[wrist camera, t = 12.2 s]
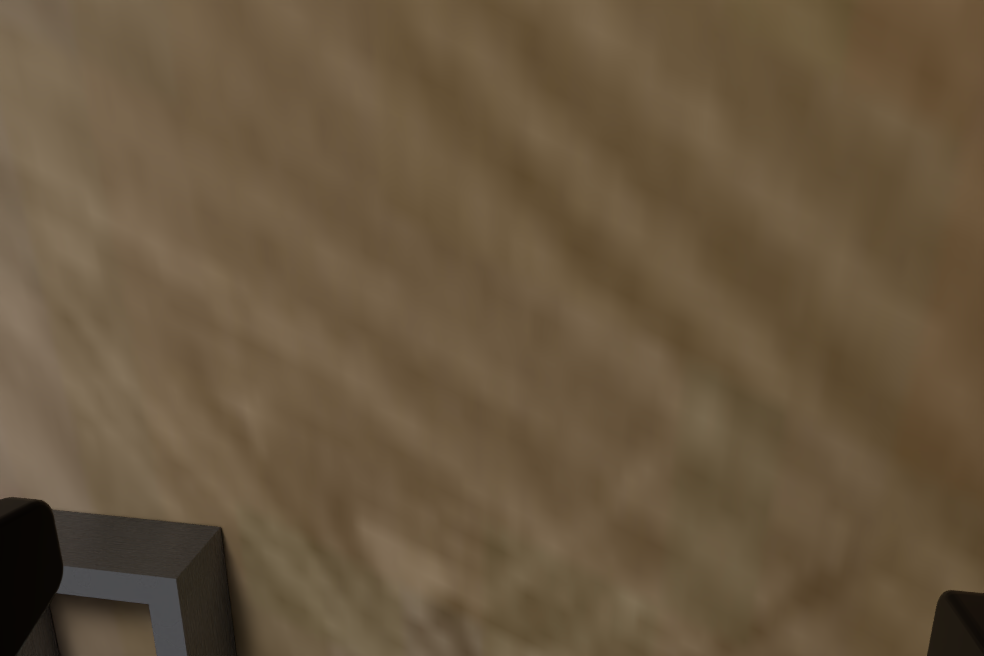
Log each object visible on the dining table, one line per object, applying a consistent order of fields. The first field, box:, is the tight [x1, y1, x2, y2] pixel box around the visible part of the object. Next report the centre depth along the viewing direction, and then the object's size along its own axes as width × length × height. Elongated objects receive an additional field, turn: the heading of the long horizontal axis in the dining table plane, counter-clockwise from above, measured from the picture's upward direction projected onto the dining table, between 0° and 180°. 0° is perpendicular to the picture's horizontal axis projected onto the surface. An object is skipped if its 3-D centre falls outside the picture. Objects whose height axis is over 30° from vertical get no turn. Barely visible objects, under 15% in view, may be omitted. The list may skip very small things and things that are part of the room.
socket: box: [17, 510, 236, 656], centre depth 26 cm, size 7×7×2 cm
